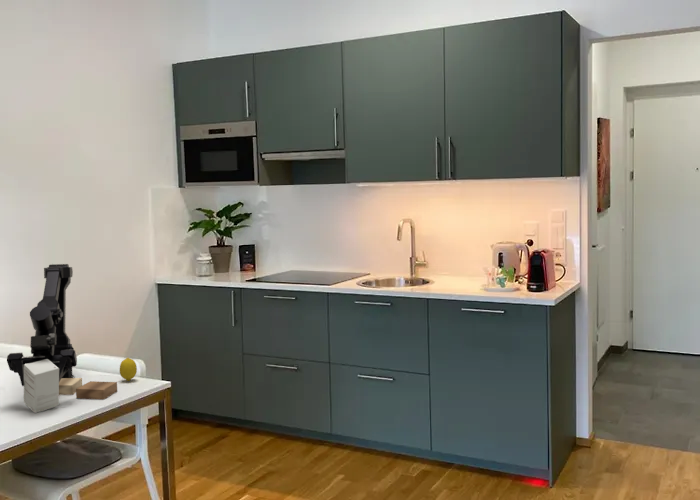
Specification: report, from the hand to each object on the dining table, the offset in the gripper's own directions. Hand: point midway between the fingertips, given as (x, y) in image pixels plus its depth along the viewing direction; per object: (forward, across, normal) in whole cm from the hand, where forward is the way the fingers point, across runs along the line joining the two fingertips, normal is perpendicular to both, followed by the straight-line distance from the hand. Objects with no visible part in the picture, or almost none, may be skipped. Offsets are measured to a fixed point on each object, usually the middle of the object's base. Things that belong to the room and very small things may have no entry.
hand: (40, 384), depth 209 cm
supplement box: (+4, 0, +6) cm, 7 cm away
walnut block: (-3, +14, +14) cm, 20 cm away
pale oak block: (-9, +3, +19) cm, 21 cm away
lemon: (-14, +23, +24) cm, 36 cm away
